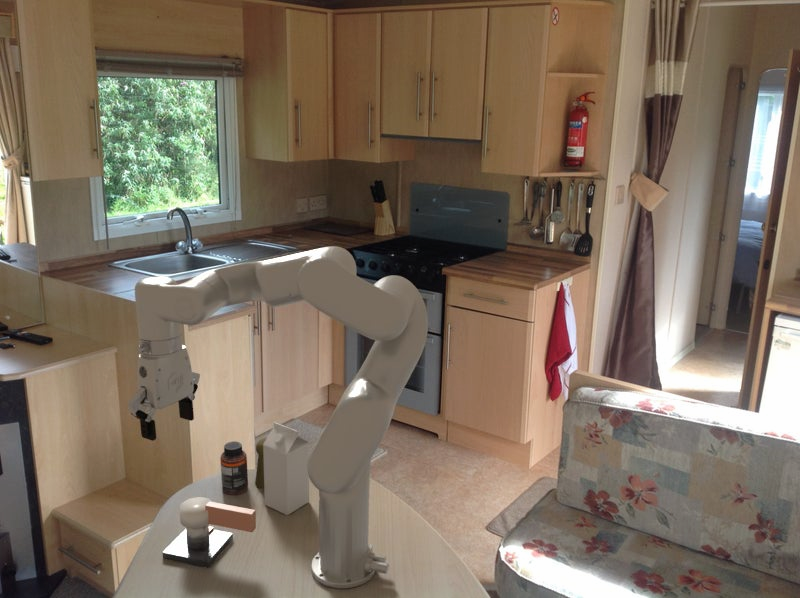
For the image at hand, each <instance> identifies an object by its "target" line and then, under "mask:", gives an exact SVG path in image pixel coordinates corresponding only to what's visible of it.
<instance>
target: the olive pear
mask: <svg viewBox="0 0 800 598" xmlns="http://www.w3.org/2000/svg"><path fill="white" fill-rule="evenodd" d="M266 439H267V437H264V438H262V439H260V440H258V441H257V443H256V444H255V450H256V451H255V452H256V453H257V456H258V457H257V464H256V465H257V466H256V472H255V473H256V475H255V482H254V484H255V487H256V488H259V489H261V490H264V455H263V444H264V442H265V441H266Z"/></svg>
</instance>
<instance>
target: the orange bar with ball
mask: <svg viewBox="0 0 800 598" xmlns="http://www.w3.org/2000/svg"><path fill="white" fill-rule="evenodd" d="M256 515H257V514H256V509H252V508H246V507H242V506H235V505H230V504H225V503H220V502H214V501H212V499H210V498H207V497H203V496H197V497H191V498H188V499H186V500H184V501H183V502H181V504H180V505H179V519H180V522H179V523H180V524H181V525H182V526H183V527H185V528H186V527H187V528H200V527H204V526H206V525H208V524H209V525H213V526H218V527H223V528H228V529H233V530H237V531H238V530H239V531H243V532H248V533H253V532H254V531H255V530H256V528H257V521H256Z"/></svg>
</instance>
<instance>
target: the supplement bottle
mask: <svg viewBox="0 0 800 598" xmlns="http://www.w3.org/2000/svg"><path fill="white" fill-rule="evenodd" d="M219 461H220V474H221V476H220V477H221V489H222V492H224V493H225V494H226V495H230V496H233V495H240V494H242V493H244V492H245V491H247V490H248V488H249V478H248V477H249V475H248V474H249V473H248V457H247V453H246V451H245V450H243V444H242V443H241V442H240V441H229V442H227V443H225V444H224V446H223V452H222V453H221V455H220V457H219Z"/></svg>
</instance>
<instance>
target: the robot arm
mask: <svg viewBox="0 0 800 598" xmlns="http://www.w3.org/2000/svg"><path fill="white" fill-rule="evenodd" d="M356 264H357V263H356V260H355V259H354V256H353V255H352V254H351V253H350V252H349V251H348V250H347V249H346V248H343V247H340V246H336V245H335V246H333V245H331V246H325V247H324V246H323V247H320V248H315V249H309V250H307V251H302V252H298V253H293V254H289V255H284V256H280V257H279V256H278V257H275V258H271V259H265V260H258V261H252V262H251V261H250V262H241V263H237V264H232V265H227V266H224V267H220V268H219V267H218V268H215V269H211V270H207V271H205V272H200V273H199V274H197V275H195V276H194V277H192V278H190V279H189V280H186V281H184V282H183V283H179V284H178V283H177V281H176V280H175V279H173V278H171V277H168V276H150V277H145V278H141V279H140V280H139V281H137V282H136V284H135V286H134V299H135V301H134V302H135V309H136V319H137V330H138V332H137V333H138V340H139V345H138V346H137V347H136V351H137V353H139V355H138V358H137V359H138V360H137V373H136V375H137V376H136V379H137V380H136V381H137V386H136V387H137V392H135V394H134V395H133V396H132V397H131V398H130V400H128V402H127V403H126V407H127V409H128V411H130V412H129V413H130V414H131V415H132V416H134V417H135V418H136V419H137V420H139V424H140V425H139V426H140V432H141V437H142V438H143V439H146V440H149V441H151V442H154V441H155V440H156V439H157V431H156V421H155V419H153V417H154V415H155V414H156V411H160V410H163V409H165V408H167V407H169V406H172V405H174V404H176V403H177V402H178V413H179V414H178V415H179V418H180V419H182V420H187V421H193V420H194V419H195V416H194V404H193V403H194V400H195V399H196V395H195V394H196V392H197V390H198V387H199V386H198V384H199V382H200V376H201V374H200V373H197V372H193V370H192V365H191V361H190V356H189V353H188V349H187V347H186V345H184V344H183V335H182V325H185V326H196V325H200V324H202V323H204V322H205V321H206V320H208V319H209V318H210V317H212V316H213V315H214V314H215V313H217V312H218V311H220V310H222V308H226V307H230V306H234V305H238V304H244V303H248V302H249V303H250V302H263V303H265V305H266V304H267V306H268V307H271V308H280V307H284V306H288V305H293V304H297V303H302V302H306V303H307V304H309V305H310V306H311V307H312V308H315V309H316V310H318V311H319V312H321V313H322V314H323V315H325V316H328V317H329V318H330V319H333V320H335V321H337V322H338V323H340V324H342V325H344V326H346V327H348V328H349V329H350V330H353V332H356V333H358V334H360V335H362V336H363V337H366V338H368V339H370V340H374V343H373V344H372V346H371V348H370V349H369V352H368V354H367V356H366V357H365V360H364V361H363V363H362V365H361V367H360V368H359V370H358V372H357V374H355V376H354V378H353V379H352V381H350V383H349V384H348V385H347V388H346V389H345V390H344V392H343V394H342V395H341V397H340V400H339V402H338V403H337V405H336V407H335V408H334V411H333V412H332V415H331V417H330V418H329V420H328V422H327V424H326V425H325V426H324V427H323V428H322V430H321V432H320V434H319V436H318V437H317V439H316V442H315V444H314V446H313V448H312V450H311V451H310V453H309V458H308V463H307V470H308V475H309V481H311V483H312V485H313V487H315V488H316V489H317V490H318V552H317V553H316V554H315V555H314V556H313V558H312V559H311V563H310V570H311V574H312V576H313V578H314V579H315V580H316V581H317V582H319V583H320V584H321V585H323V586H326V587H329V588H333V589H348V588H349V589H351V588H355V587H359V586H361V585H363V584H365V583H366V582H368V581H369V580H370V579H372V578H373V576H374V575H375V573H376V572H377V573H381V574H386V575H388V572H389V566H390V565H389V563H388V562H386V561H387V556H386V555H381V554H376V553H375V552H373V551H374V550H373V544H371V543H369V524H370V523H369V522H370V521H369V517H370V516H369V515H370V513H369V512H370V511H369V510H370V509H369V508H370V481H371V480H370V479H371V468H372V467H371V463H372V458H374V457H373V456H374V455H375V453H376V451H377V450H378V448H379V446H380V444H381V443H382V441H383V439H384V438H385V436H386V434H387V431H388V430H389V427H390V424H391V421H392V418H393V415H394V411H395V409H396V405H397V402H398V400H399V397H400V395H401V394H402V393H403V390H404V388H405V386H406V385H407V383H408V381H409V379H410V378H411V375H412V373H413V372H414V370H415V368H416V366H417V364H418V362H419V360H420V358H421V356H422V354H423V351H424V348H425V346H426V342H427V335H428V332H429V331H428V330H429V329H428V328H429V319H428V318H429V317H428V311H427V307H426V304H425V301H424V298H423V297H422V294H421V293H420V291H419V289H417V287H416V286H415V285H414V284H413V282H411V281H410V280H408V279H407V278H405V277H403V276H401V275H393V274H392V275H387V276H384V277H382V278H381V279H379V280H378V281H376V282H375V283H374V284H372V283H370V282H369V281H367V280H365V279H363V278H361V277H360V276H358V275H357V271H358V270H357V265H356ZM147 409H148V411H147ZM146 411H147V412H146Z"/></svg>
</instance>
